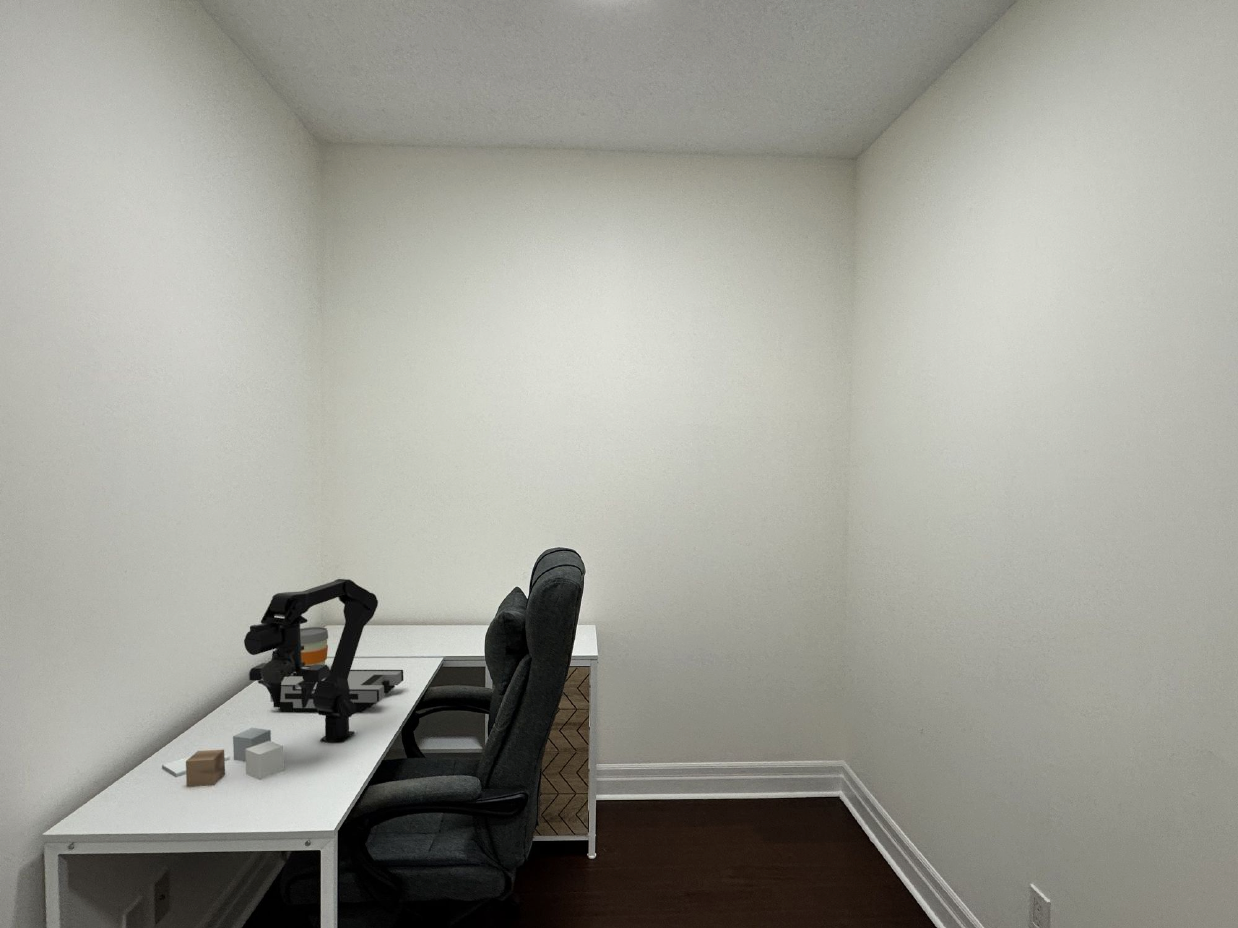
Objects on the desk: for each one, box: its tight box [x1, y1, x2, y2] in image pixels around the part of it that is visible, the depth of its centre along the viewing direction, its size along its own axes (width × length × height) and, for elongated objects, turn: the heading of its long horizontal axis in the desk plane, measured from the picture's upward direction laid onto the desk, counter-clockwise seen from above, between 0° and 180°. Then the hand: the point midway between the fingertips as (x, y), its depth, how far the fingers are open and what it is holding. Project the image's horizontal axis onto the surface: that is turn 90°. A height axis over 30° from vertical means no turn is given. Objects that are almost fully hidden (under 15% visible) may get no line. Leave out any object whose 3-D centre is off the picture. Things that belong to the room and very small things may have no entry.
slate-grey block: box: [232, 727, 272, 763], centre depth 193 cm, size 6×6×6 cm
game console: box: [269, 666, 404, 714], centre depth 233 cm, size 21×32×8 cm, turn 85°
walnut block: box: [185, 749, 226, 788], centre depth 179 cm, size 6×6×6 cm
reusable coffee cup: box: [300, 626, 329, 667], centre depth 261 cm, size 13×12×15 cm
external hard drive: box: [161, 748, 231, 778], centre depth 189 cm, size 2×8×12 cm
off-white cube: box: [245, 740, 285, 780], centre depth 183 cm, size 6×6×6 cm
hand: (290, 706), depth 190 cm, fingers open, 7 cm apart
